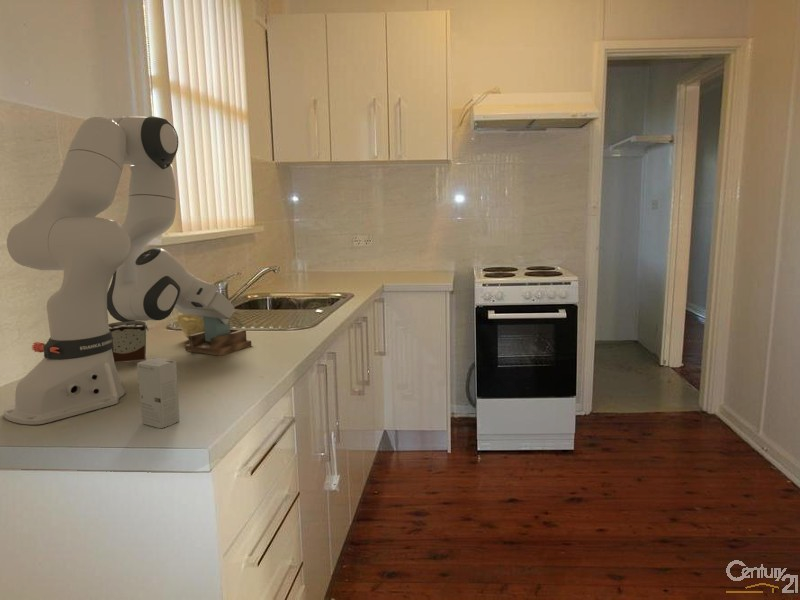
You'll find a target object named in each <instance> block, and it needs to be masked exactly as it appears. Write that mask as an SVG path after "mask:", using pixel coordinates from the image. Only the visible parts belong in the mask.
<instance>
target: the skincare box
mask: <svg viewBox="0 0 800 600" xmlns="http://www.w3.org/2000/svg"><path fill="white" fill-rule="evenodd" d="M177 372H178V371H177V361H175V360H170V359H167V358H159V357H151V358H149V359H146V360H141V361H139V362H137V375H138V387H139V388H138V389H139V403H140V414H141V416H140V417H141V423H142V424H144V425H147V426H149V427H154V428H158V429H164V427H165V428H168V427H170V426H172V424H173V425H174V423H175V424H176V422H177V423H178V422H180V405H179V389H178V375H177V374H178V373H177ZM169 425H170V426H169ZM167 426H168V427H167Z"/></svg>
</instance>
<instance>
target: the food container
mask: <svg viewBox="0 0 800 600" xmlns="http://www.w3.org/2000/svg"><path fill="white" fill-rule="evenodd" d="M109 330H110V331H111V332H112V338H113V346H114V351H113V357H114V362H117V363H126V362H125V361H129V362H138V361H139V362H142V361H145V360H147V354H146V353H147V331H149V328H148V325H147V323H146V321H137V320H136V321H128V322H121V321H117V322H111V323H109Z"/></svg>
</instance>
